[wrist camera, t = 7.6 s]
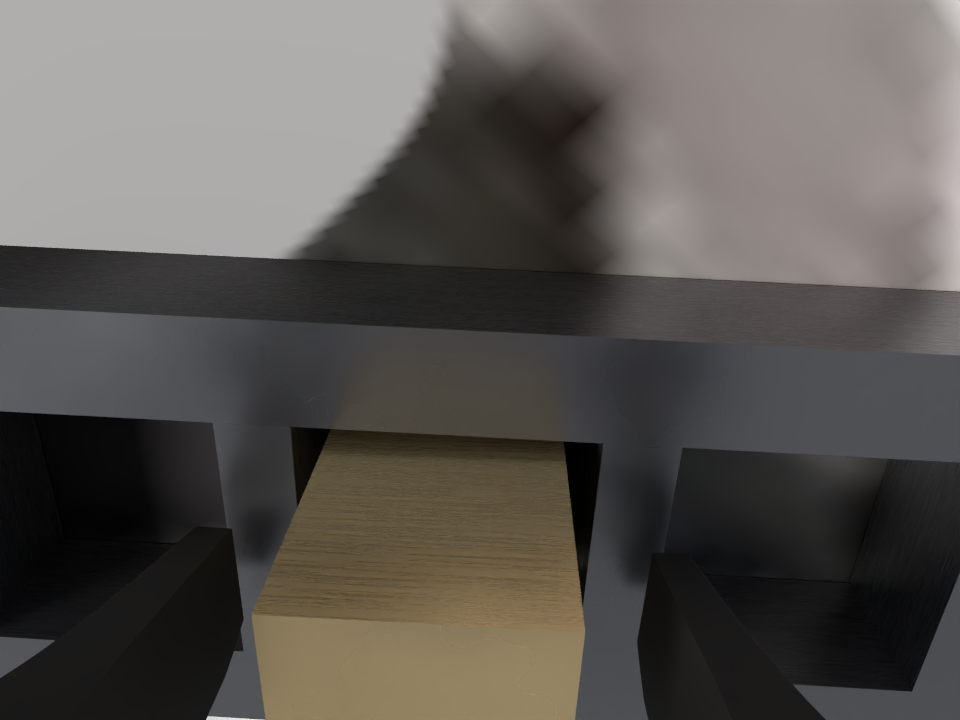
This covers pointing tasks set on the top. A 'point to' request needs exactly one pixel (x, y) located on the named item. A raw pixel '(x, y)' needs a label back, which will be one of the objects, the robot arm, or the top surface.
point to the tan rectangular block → (425, 584)
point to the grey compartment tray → (506, 434)
